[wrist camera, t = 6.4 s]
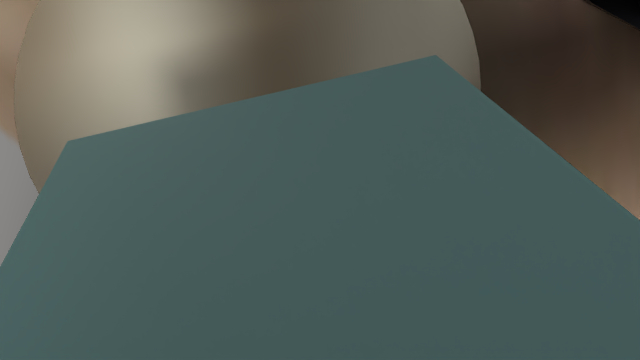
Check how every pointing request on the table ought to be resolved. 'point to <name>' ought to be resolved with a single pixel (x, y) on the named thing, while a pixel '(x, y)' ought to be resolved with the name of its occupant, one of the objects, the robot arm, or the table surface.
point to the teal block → (324, 236)
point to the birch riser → (206, 57)
